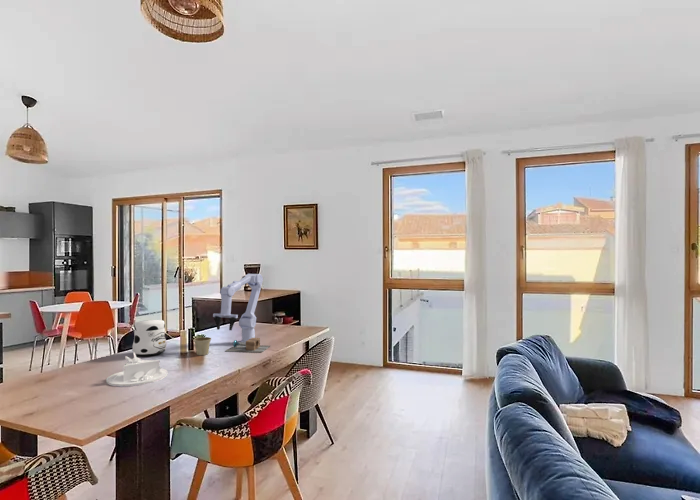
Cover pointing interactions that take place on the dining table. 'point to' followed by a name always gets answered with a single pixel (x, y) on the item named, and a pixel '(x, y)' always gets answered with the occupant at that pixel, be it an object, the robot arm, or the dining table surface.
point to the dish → (137, 373)
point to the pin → (239, 343)
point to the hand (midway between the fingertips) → (224, 329)
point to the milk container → (149, 337)
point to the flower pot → (202, 345)
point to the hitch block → (249, 347)
